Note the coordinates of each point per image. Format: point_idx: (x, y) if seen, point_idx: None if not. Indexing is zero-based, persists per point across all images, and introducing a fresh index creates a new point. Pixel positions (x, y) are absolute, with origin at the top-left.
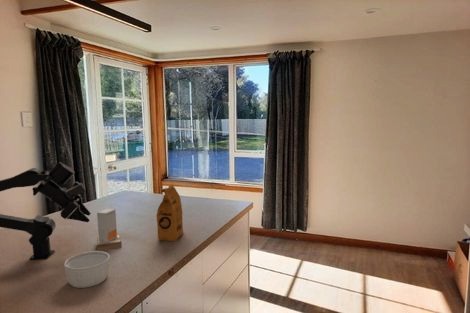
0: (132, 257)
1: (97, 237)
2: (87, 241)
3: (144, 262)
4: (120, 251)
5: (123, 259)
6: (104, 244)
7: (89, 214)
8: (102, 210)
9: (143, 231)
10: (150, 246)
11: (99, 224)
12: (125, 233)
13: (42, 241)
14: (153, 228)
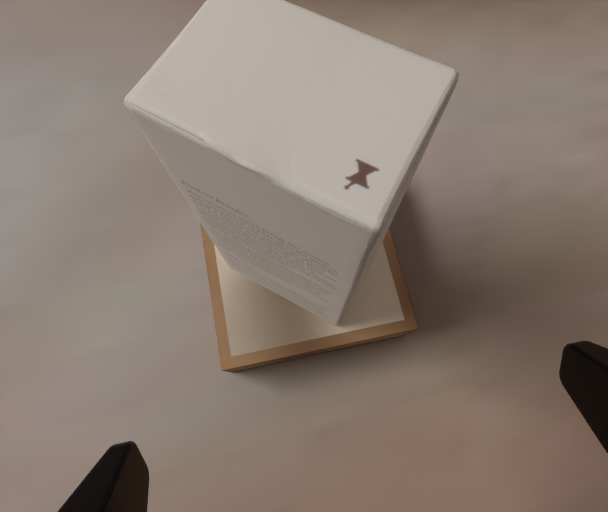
0: (528, 97)
1: (224, 367)
2: (158, 479)
3: (598, 33)
4: (427, 176)
5: (554, 140)
6: (400, 270)
7: (139, 463)
8: (245, 158)
9: (85, 85)
10: (375, 25)
11: (366, 267)
12: (77, 197)
13: None
14: (49, 32)
